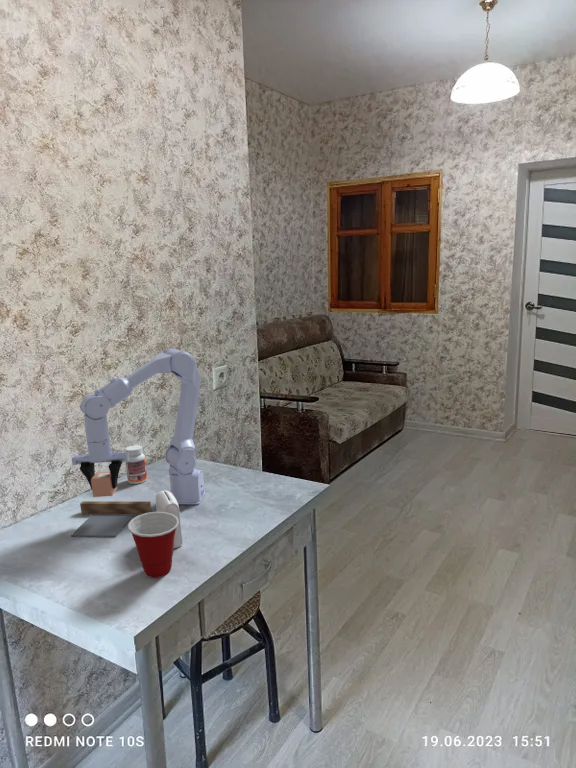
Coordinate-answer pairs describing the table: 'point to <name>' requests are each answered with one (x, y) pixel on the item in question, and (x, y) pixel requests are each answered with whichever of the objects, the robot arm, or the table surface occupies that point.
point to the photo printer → (170, 505)
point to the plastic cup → (154, 541)
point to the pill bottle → (136, 465)
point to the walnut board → (115, 507)
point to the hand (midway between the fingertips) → (104, 487)
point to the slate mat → (103, 525)
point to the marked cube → (102, 484)
